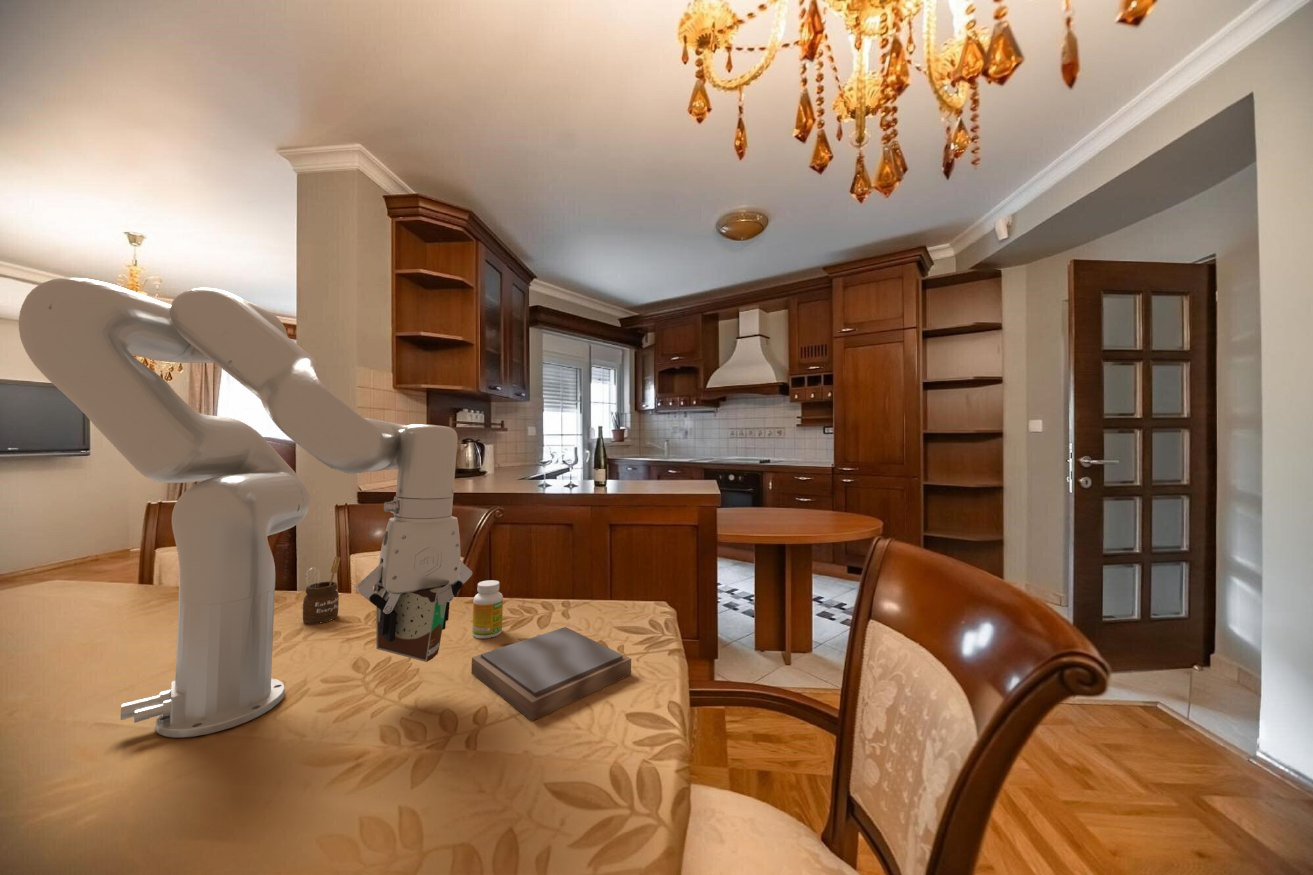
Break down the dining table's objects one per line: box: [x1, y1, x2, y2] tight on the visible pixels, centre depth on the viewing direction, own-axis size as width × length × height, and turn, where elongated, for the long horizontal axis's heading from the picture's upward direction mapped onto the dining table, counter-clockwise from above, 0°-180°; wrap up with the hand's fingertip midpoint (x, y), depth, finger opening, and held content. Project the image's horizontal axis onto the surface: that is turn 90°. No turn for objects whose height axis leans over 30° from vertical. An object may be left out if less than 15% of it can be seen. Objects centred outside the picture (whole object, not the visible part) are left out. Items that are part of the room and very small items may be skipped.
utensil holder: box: [302, 556, 341, 625], centre depth 94 cm, size 6×6×12 cm
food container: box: [373, 582, 453, 663], centre depth 67 cm, size 12×6×10 cm, turn 70°
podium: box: [470, 626, 632, 722], centre depth 73 cm, size 18×18×3 cm
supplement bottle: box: [471, 579, 504, 640], centre depth 88 cm, size 5×5×10 cm
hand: (414, 631), depth 66 cm, fingers closed on food container, 6 cm apart
